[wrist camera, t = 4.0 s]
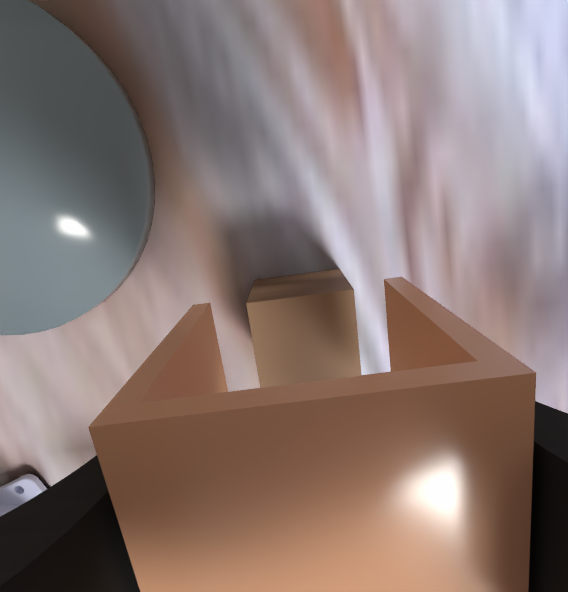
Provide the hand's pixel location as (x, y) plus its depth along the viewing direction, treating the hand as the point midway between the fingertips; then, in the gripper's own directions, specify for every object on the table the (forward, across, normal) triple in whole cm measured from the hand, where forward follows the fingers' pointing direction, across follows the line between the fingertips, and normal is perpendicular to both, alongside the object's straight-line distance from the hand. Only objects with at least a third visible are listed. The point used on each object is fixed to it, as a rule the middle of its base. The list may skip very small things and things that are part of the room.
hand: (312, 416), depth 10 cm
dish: (+8, +12, -8) cm, 17 cm away
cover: (+2, 0, 0) cm, 2 cm away
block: (+9, 0, 0) cm, 9 cm away
